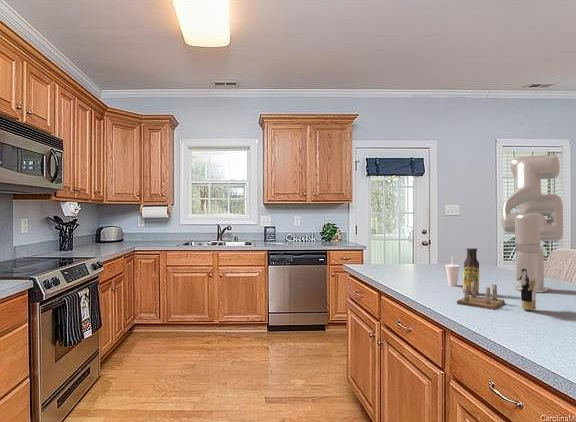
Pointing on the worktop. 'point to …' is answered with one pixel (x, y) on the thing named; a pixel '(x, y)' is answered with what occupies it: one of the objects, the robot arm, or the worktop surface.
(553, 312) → the worktop surface
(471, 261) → the sauce bottle
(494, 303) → the pin tray
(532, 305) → the sprinkles bottle
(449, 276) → the smoothie
